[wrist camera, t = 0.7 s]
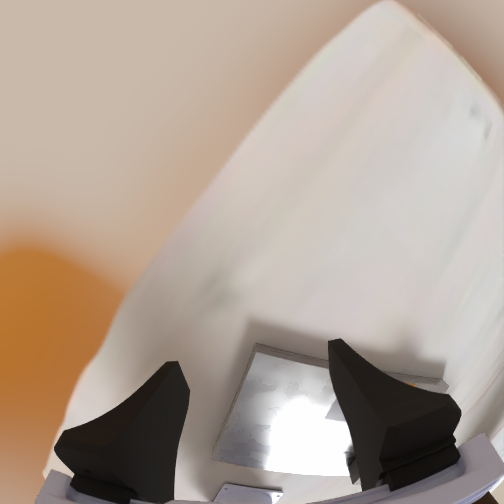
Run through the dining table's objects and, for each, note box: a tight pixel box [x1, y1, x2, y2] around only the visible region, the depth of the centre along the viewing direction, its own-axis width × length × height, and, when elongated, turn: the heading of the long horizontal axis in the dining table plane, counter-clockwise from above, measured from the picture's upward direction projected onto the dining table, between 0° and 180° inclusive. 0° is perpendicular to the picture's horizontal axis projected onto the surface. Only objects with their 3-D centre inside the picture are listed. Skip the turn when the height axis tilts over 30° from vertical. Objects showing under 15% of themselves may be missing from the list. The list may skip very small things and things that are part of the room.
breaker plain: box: [348, 459, 361, 485], centre depth 22 cm, size 2×3×3 cm
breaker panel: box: [212, 343, 449, 475], centre depth 24 cm, size 15×22×2 cm
